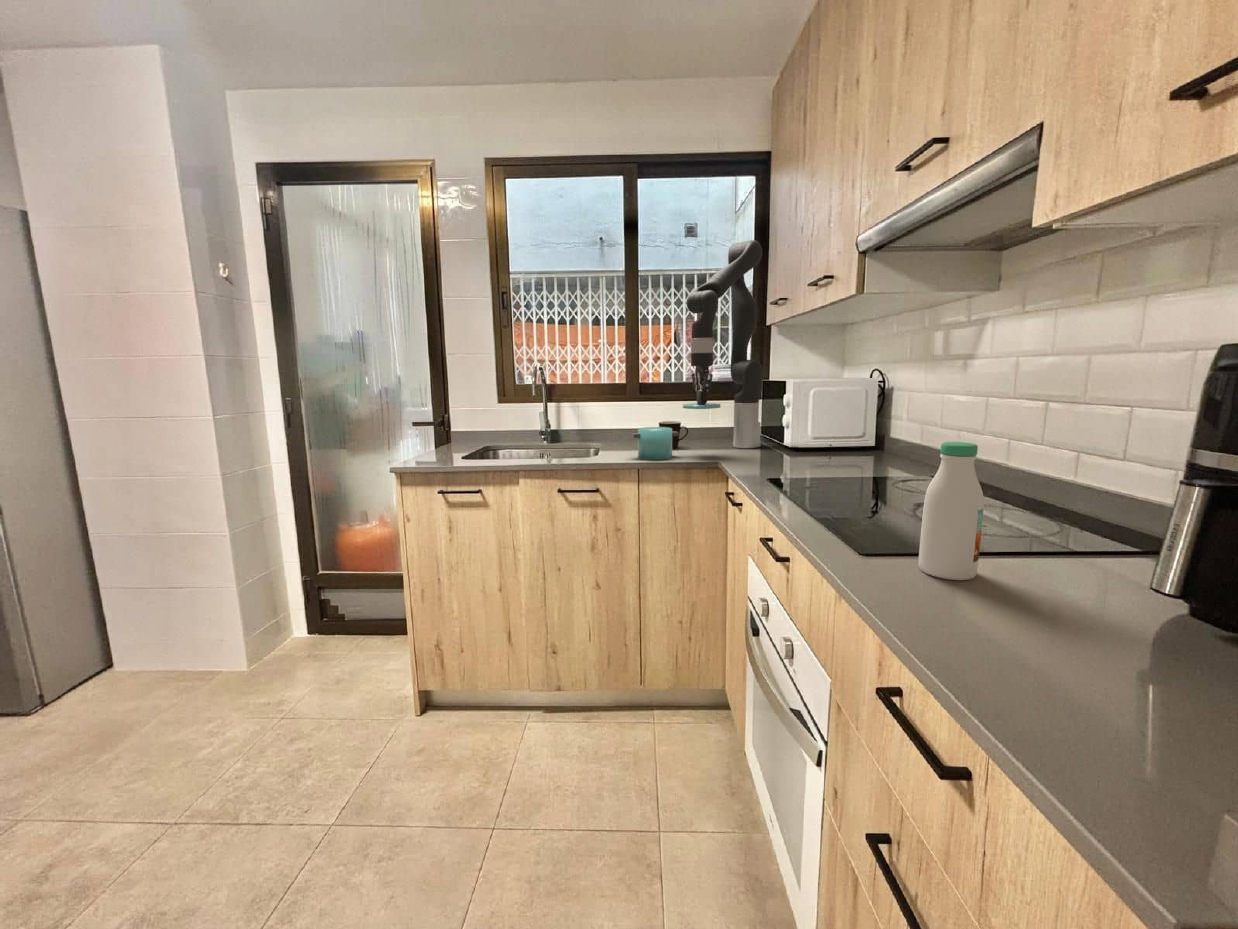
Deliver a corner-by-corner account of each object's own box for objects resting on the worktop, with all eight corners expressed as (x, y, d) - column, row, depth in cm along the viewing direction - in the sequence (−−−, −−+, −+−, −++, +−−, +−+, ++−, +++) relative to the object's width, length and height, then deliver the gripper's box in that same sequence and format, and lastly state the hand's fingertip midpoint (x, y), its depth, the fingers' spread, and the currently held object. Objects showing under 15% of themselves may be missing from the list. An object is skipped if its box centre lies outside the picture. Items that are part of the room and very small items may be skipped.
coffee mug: (654, 447, 211) (654, 422, 209) (672, 445, 215) (672, 420, 213) (670, 451, 201) (671, 424, 199) (689, 449, 205) (690, 423, 203)
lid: (709, 405, 195) (709, 388, 193) (727, 407, 182) (727, 390, 181) (676, 406, 190) (676, 389, 189) (693, 409, 178) (693, 391, 177)
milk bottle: (963, 586, 77) (977, 449, 73) (908, 570, 83) (919, 443, 80) (985, 573, 81) (1000, 443, 78) (931, 559, 88) (943, 438, 84)
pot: (671, 453, 196) (671, 426, 195) (682, 458, 185) (683, 429, 183) (628, 455, 193) (628, 427, 191) (637, 461, 181) (636, 431, 180)
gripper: (720, 351, 177) (720, 403, 180) (704, 352, 190) (704, 400, 194) (699, 351, 175) (699, 404, 179) (684, 352, 189) (684, 401, 192)
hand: (701, 402), depth 186 cm, fingers closed on lid, 3 cm apart
